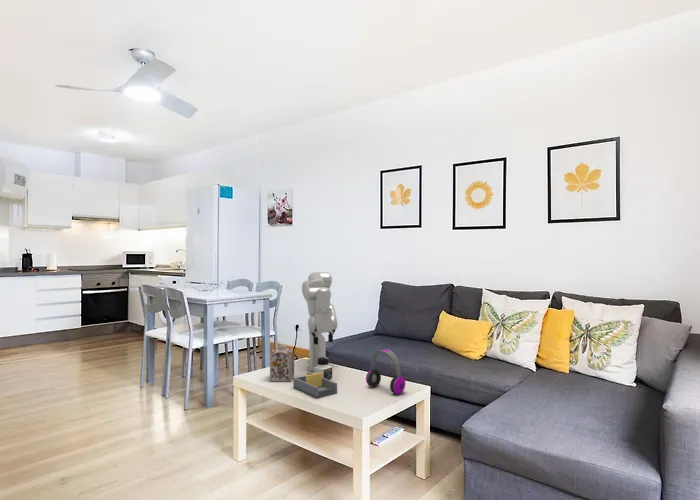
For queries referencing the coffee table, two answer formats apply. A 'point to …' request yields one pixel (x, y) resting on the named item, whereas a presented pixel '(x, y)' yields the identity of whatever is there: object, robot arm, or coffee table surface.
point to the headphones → (375, 377)
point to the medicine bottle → (324, 368)
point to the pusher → (314, 379)
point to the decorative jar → (282, 364)
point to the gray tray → (316, 392)
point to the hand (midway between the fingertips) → (323, 343)
